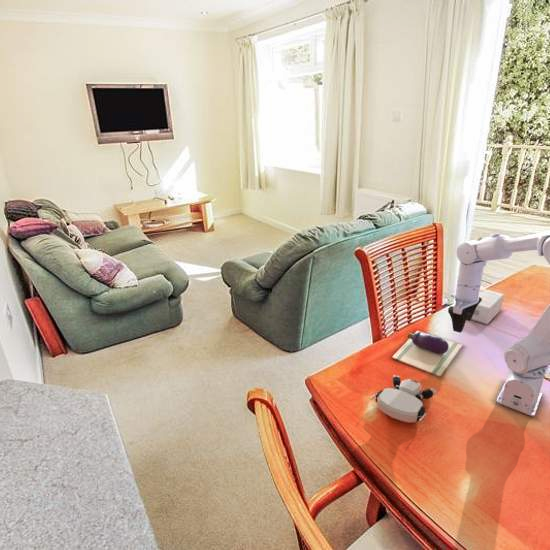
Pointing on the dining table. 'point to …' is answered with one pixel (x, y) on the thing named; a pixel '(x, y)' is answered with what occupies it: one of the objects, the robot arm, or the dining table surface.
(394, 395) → the robot toy
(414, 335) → the eggplant
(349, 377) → the dining table surface
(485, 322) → the small box
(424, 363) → the towel
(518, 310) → the dining table surface
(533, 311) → the dining table surface
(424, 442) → the dining table surface
